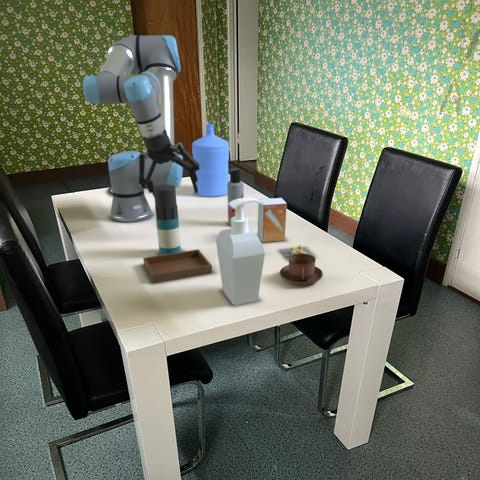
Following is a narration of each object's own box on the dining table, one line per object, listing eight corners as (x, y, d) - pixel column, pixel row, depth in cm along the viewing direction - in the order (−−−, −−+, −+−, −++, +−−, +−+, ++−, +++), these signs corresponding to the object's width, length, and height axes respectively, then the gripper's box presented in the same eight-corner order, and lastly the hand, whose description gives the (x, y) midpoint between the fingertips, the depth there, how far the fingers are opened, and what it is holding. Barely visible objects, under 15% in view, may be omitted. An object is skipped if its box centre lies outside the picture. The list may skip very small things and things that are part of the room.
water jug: (216, 199, 196) (214, 128, 182) (187, 193, 204) (182, 125, 189) (236, 190, 207) (236, 123, 193) (208, 185, 215) (205, 120, 200)
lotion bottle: (241, 227, 168) (241, 170, 157) (226, 226, 169) (225, 170, 158) (244, 221, 172) (244, 166, 162) (229, 220, 173) (228, 166, 163)
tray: (144, 265, 140) (143, 257, 139) (199, 256, 146) (198, 249, 144) (153, 283, 130) (152, 275, 129) (212, 273, 135) (211, 265, 134)
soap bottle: (269, 302, 120) (273, 204, 107) (233, 309, 117) (232, 210, 104) (251, 282, 130) (252, 190, 117) (217, 288, 127) (214, 195, 114)
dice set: (292, 258, 144) (292, 252, 143) (286, 252, 148) (287, 246, 147) (307, 256, 145) (308, 250, 144) (301, 250, 149) (301, 244, 148)
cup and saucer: (329, 284, 129) (331, 264, 125) (289, 291, 126) (290, 270, 122) (311, 267, 138) (313, 248, 135) (273, 272, 136) (274, 253, 132)
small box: (262, 243, 155) (263, 204, 148) (257, 236, 160) (257, 199, 153) (285, 240, 156) (287, 202, 149) (279, 234, 162) (281, 197, 155)
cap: (154, 214, 143) (151, 185, 139) (174, 212, 145) (172, 183, 141) (159, 221, 138) (156, 191, 134) (179, 218, 140) (177, 189, 136)
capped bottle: (157, 250, 150) (152, 205, 142) (178, 247, 152) (174, 202, 144) (162, 258, 144) (157, 212, 136) (183, 255, 146) (180, 209, 139)
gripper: (113, 148, 139) (140, 209, 153) (193, 127, 135) (213, 192, 149) (117, 138, 144) (143, 198, 158) (194, 118, 141) (213, 181, 155)
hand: (177, 195), depth 154 cm, fingers open, 13 cm apart
